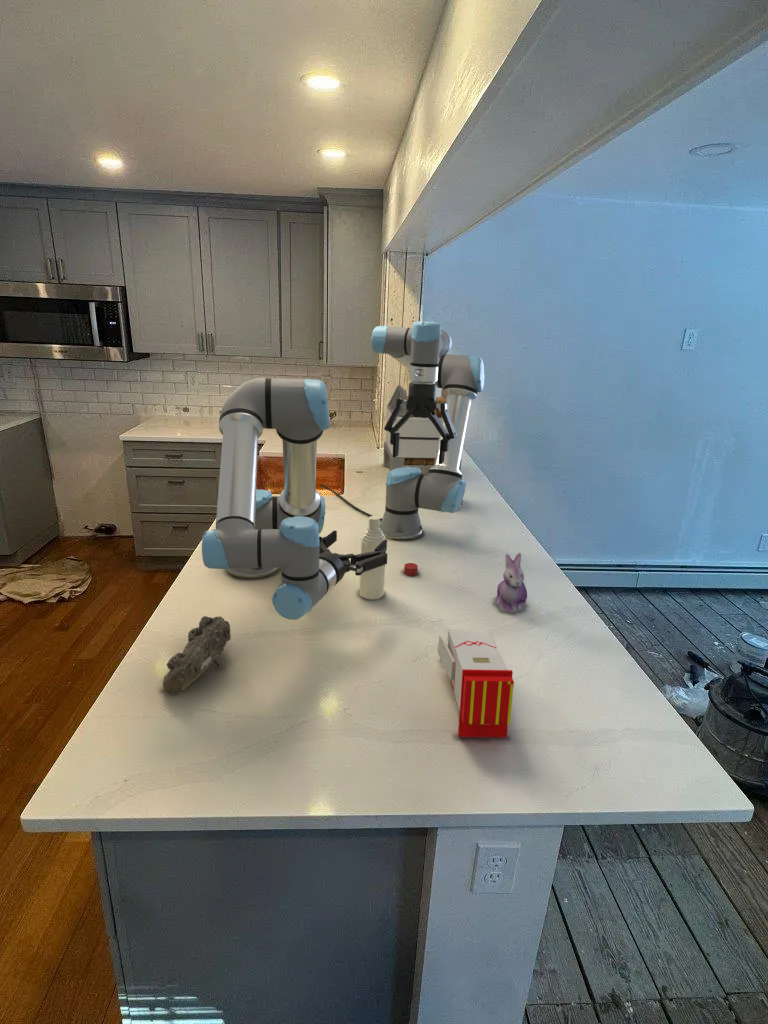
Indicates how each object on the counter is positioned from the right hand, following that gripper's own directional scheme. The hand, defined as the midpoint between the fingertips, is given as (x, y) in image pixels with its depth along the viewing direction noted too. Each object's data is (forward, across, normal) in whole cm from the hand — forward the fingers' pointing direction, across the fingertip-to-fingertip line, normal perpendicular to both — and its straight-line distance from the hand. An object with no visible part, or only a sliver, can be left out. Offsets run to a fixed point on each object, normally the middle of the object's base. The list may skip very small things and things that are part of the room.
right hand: (418, 459), depth 159 cm
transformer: (+35, -33, +106) cm, 116 cm away
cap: (+33, 0, 0) cm, 33 cm away
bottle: (+35, -5, -17) cm, 40 cm away
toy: (+35, +30, -48) cm, 67 cm away
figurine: (+35, +31, -7) cm, 48 cm away
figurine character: (+35, -6, +68) cm, 76 cm away
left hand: (+15, -5, -27) cm, 32 cm away
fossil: (+35, -25, -64) cm, 77 cm away
